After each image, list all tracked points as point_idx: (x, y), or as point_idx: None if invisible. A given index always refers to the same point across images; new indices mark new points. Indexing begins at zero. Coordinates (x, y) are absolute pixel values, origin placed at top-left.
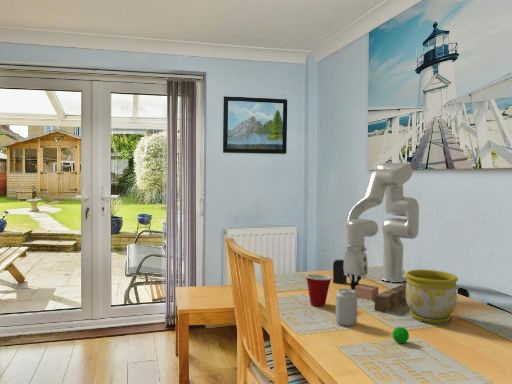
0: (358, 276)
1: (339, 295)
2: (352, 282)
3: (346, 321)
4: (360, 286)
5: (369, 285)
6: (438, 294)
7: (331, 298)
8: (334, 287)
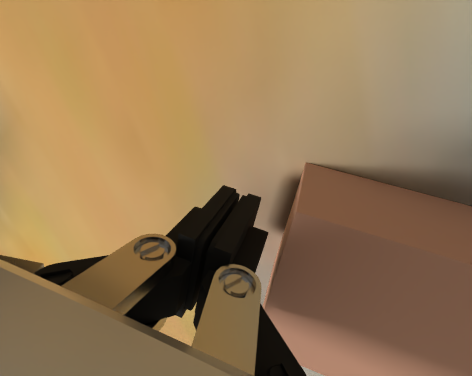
0: (216, 355)
1: None
2: (190, 305)
3: None
4: (312, 341)
5: (440, 261)
6: None
7: (163, 327)
8: (30, 55)
